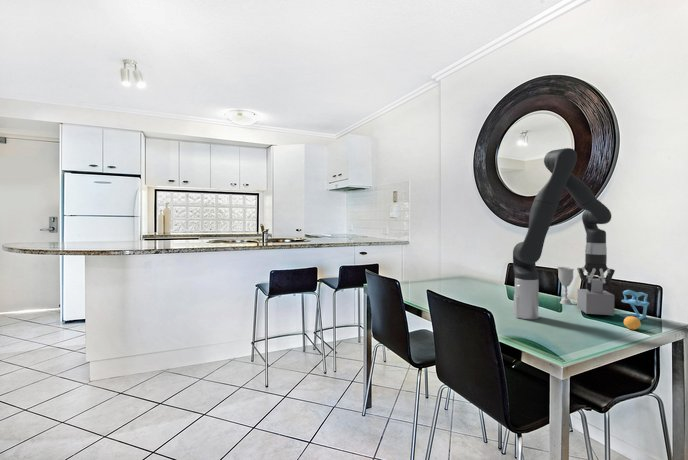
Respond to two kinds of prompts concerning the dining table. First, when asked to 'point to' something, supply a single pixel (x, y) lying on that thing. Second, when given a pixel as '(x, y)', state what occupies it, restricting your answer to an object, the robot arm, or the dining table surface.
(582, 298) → the gray block
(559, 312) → the dining table surface
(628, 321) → the ball
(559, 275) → the chalice
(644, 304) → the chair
